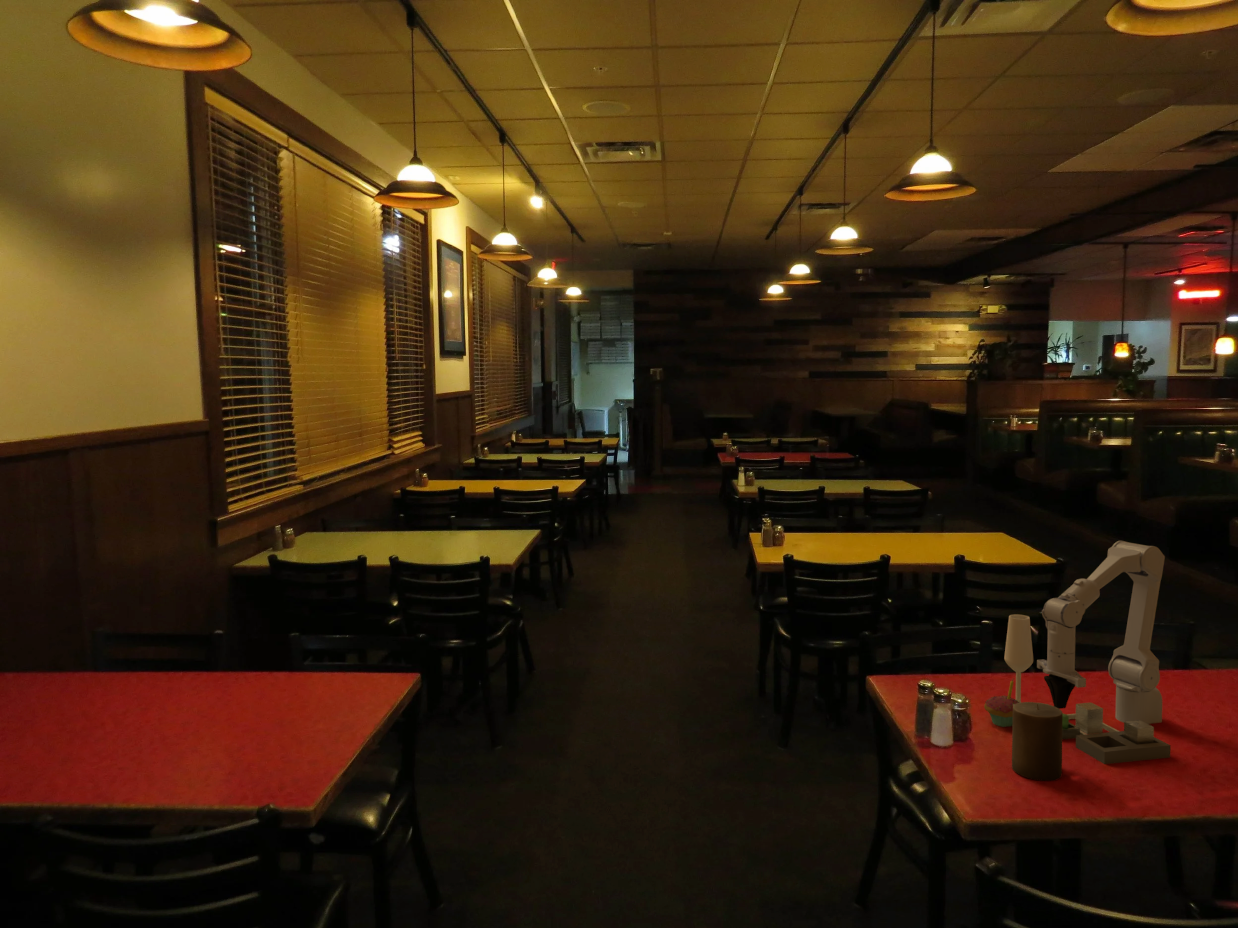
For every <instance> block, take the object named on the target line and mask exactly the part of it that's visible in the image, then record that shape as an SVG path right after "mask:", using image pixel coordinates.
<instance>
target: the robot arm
mask: <svg viewBox="0 0 1238 928" xmlns="http://www.w3.org/2000/svg"><path fill="white" fill-rule="evenodd" d="M1165 558H1166V556H1165V554H1163V552H1162V551H1161V550H1160V548H1159V547H1157V546H1154V545H1145V544H1139V543H1134V542H1128V541H1124V540H1118V541H1116V542H1115V543H1113V544H1112V546H1111V547H1109V548H1108V550H1107V556H1106V558H1105V559H1104V560H1103V561H1102V562H1101V563H1100V564H1099V566H1097V567H1096V569H1095V570H1094V571H1093V572H1092V573H1091V574H1090V575H1089V576H1088V577H1087V578H1078V579H1076V580H1075V581H1074V582H1073V584H1072V585H1070V587H1068V588H1067V589H1066V590H1064V591H1063V592H1062V593H1061V594H1060V595H1059V596H1058V597H1053V598H1050V599H1048V600H1047V601H1046V602H1045V603H1044V605H1043V609H1042V610H1041V615H1042V618H1043V619H1044V621H1045V628H1046V629H1047V650H1046V651H1047V653H1046V654H1047V655H1046V656H1047V658H1046V659H1037V660H1036V668H1037V669H1039V670H1042V673H1044V674H1045V675H1044V676H1043V679H1044V681H1045V683H1046V685H1047V688H1048V689H1049V691H1050V695H1051V699H1052V703H1053V706H1054V707H1057V708H1059V709H1060V710H1061V709H1066V708H1067V705H1068V701H1069V700H1070V699H1069V698H1070V697H1071V693H1072V692H1073V690H1074V688H1075V687H1076V688H1086V687H1087V678H1086V677H1084V676H1082V675H1081V674H1080V673H1079V672H1078V671H1077V670H1075V668H1076V667H1075V666H1076V660H1075V659H1076V626H1078V625H1080V623H1081V621H1082V620H1083V619H1082V618H1083V615H1084V614H1085V613H1086V610H1087V609H1088V608H1089V607H1091V605H1092V604H1093V603H1094V602H1095V601H1096V600H1097V599H1098V598H1100V594H1101V593H1100V592H1101V591H1100V589H1102V588H1103V587H1105V586H1106V585H1107V584H1109V583H1110V582H1112V581H1113V580H1114V579H1115V578H1116V577H1118V576H1119V575H1121V574H1122V573H1126V574H1127V575H1128V576H1129V578H1130V579H1131V580H1132V581H1133V585H1132V591H1131V592H1132V593H1131V596H1130V597H1131V598H1130V605H1129V610H1128V617H1127V624H1126V629H1125V636H1124V642H1123V645H1121V646H1119V647H1117V648H1115V649H1114V650H1113V653H1112V654H1113V655H1112V656H1111V659H1110V661H1109V663H1108V667H1107V668H1108V669H1107V670H1108V675H1109V676H1110V677H1111V679H1113V684H1114V685H1115V719H1116V720H1117V721H1119V722H1120V723H1123V724H1124V722H1127V721H1137V720H1141V721H1143V722H1145V723H1147V724H1149V725H1151V724H1159V723H1162V722H1163V696H1162V693H1161V692H1160V690H1159V689H1158V688H1157V686H1158V684H1159V683H1160V678H1161V674H1160V673H1161V672H1160V670H1159V666H1160V660H1159V659H1158V657H1156V656H1155V655H1154V653H1153V652H1152V651H1151V643H1152V636H1153V630H1154V626H1155V625H1154V624H1155V618H1156V611H1157V606H1158V599H1159V593H1160V592H1159V591H1160V587H1161V580H1162V577H1163V572H1164V571H1163V570H1164V564H1165Z"/></svg>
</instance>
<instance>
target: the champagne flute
mask: <svg viewBox="0 0 1238 928" xmlns="http://www.w3.org/2000/svg"><path fill="white" fill-rule="evenodd" d="M1006 632H1007V633H1006V639H1005V649H1004V650H1005V651H1004V658H1003V659H1004V661H1005V663H1006V665H1007V666H1008V667H1009V668H1010V669H1011V670H1013V671H1014V672H1015V700H1017V701H1018V702H1019V703H1021V702H1022V701H1021V700H1022V699H1021V698H1022V696H1021V695H1022V691H1021V690H1022V673H1024V672H1025V671H1026V670H1027V669H1029V668H1030V667H1031V666H1032V664H1033V663H1034V653H1033V642H1032V629H1031V619H1030V616H1029V615H1024V614H1010V615H1009V616H1008V622H1007V631H1006Z"/></svg>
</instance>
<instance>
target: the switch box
mask: <svg viewBox="0 0 1238 928" xmlns="http://www.w3.org/2000/svg"><path fill="white" fill-rule="evenodd" d="M1075 725H1076V724H1075ZM1075 725H1074V724H1073V723H1071V722H1069V724H1068V728H1064V729H1062V740H1071V739H1072V740H1073V739H1076V735H1080V731H1081V730H1080V728H1079V727H1077V726H1075Z"/></svg>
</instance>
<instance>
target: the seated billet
mask: <svg viewBox="0 0 1238 928" xmlns="http://www.w3.org/2000/svg"><path fill="white" fill-rule="evenodd" d="M1123 731H1124V738H1125V739H1127V740H1129V741H1131V742H1133V743H1134V744H1136V745H1140V744H1150V743H1153V742H1154V737H1155V736H1154V735H1155V726H1152V725H1151V724H1147V723H1145V722H1143V721H1141V720H1137V721H1127V722H1124V723H1123Z"/></svg>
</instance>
